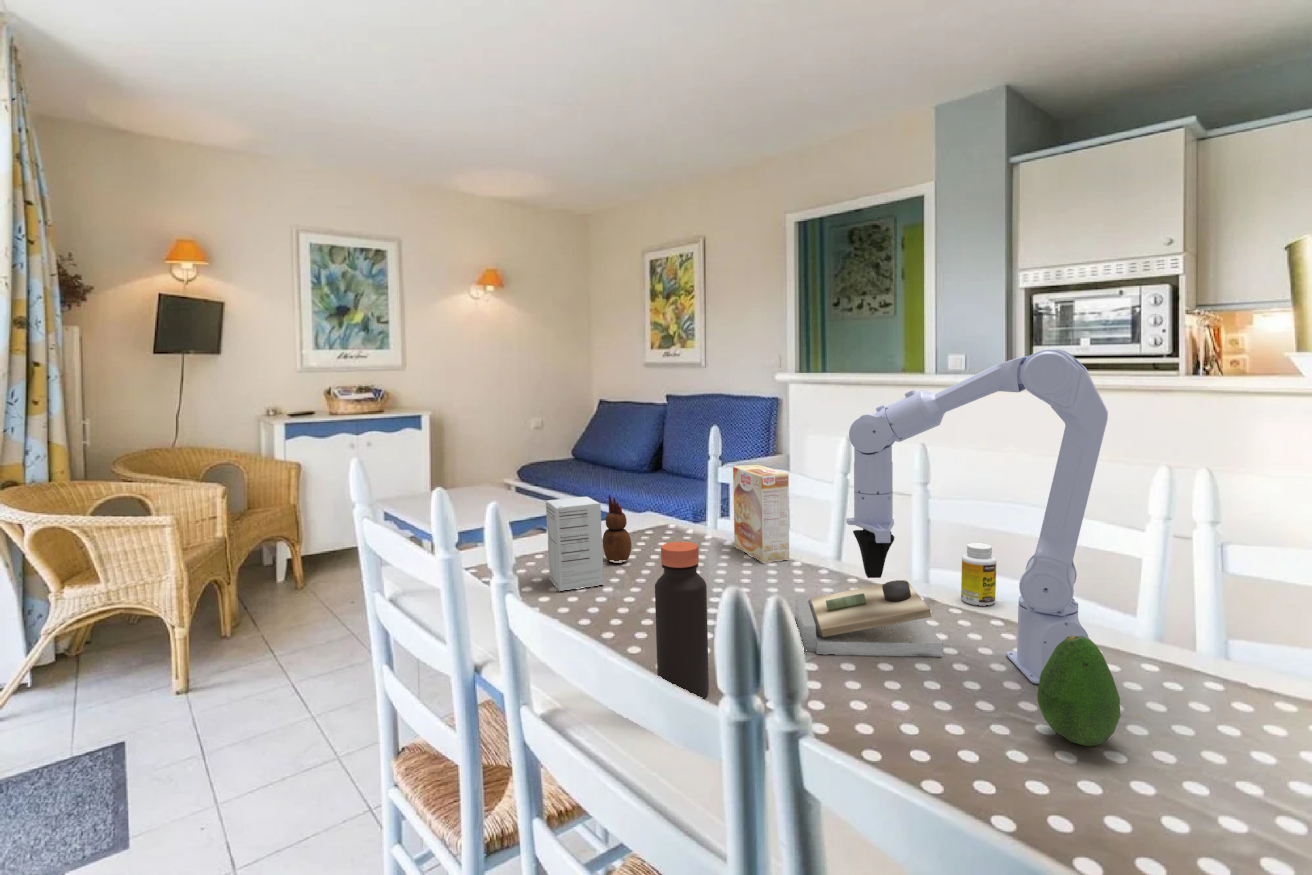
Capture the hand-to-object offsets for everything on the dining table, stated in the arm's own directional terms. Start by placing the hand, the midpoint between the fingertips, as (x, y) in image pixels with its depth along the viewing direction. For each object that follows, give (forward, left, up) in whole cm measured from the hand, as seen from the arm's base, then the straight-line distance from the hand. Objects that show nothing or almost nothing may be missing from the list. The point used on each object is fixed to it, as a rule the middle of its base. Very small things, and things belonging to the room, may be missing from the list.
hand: (873, 576), depth 109 cm
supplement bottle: (+16, -21, -10) cm, 28 cm away
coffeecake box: (+47, +16, -10) cm, 51 cm away
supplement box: (+25, +54, -10) cm, 60 cm away
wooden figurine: (+40, +48, -10) cm, 63 cm away
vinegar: (-21, +29, -10) cm, 37 cm away
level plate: (0, +1, -6) cm, 6 cm away
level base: (0, +1, -10) cm, 10 cm away
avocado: (-30, -16, -10) cm, 36 cm away
